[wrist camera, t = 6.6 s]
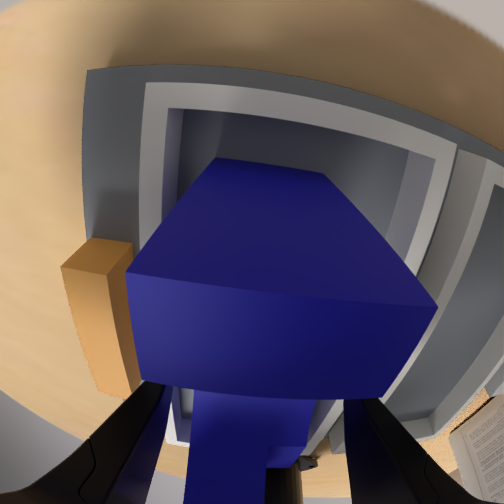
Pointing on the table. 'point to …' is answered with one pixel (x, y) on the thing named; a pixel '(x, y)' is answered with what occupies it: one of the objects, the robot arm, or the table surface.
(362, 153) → the dock board
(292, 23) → the table surface
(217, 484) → the blue curved cradle
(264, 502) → the robot arm
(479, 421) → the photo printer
